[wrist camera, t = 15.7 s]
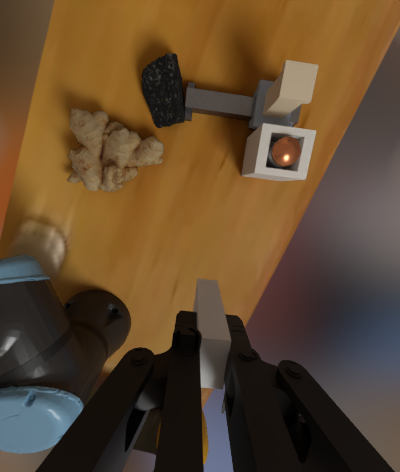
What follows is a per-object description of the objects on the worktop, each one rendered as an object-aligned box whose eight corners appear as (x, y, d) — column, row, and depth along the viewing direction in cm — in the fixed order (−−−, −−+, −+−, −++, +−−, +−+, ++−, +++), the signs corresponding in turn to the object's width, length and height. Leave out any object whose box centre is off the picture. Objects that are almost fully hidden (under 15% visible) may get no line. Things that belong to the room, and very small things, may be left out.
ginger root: (48, 165, 41) (23, 151, 33) (105, 103, 42) (93, 75, 34) (118, 219, 44) (110, 218, 36) (168, 159, 45) (172, 146, 37)
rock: (154, 132, 41) (147, 123, 36) (139, 71, 39) (129, 51, 33) (190, 123, 41) (189, 113, 35) (177, 61, 39) (174, 40, 33)
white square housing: (241, 175, 43) (254, 172, 33) (247, 135, 42) (263, 120, 32) (280, 181, 44) (305, 179, 34) (288, 141, 42) (317, 127, 32)
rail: (184, 120, 41) (184, 116, 38) (188, 84, 40) (188, 77, 37) (289, 135, 42) (295, 132, 39) (296, 100, 40) (303, 94, 38)
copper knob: (259, 167, 38) (271, 163, 32) (263, 142, 37) (276, 134, 32) (281, 170, 38) (297, 167, 33) (286, 145, 38) (303, 138, 32)
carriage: (247, 131, 41) (270, 107, 29) (254, 89, 40) (281, 45, 27) (278, 136, 41) (314, 114, 29) (286, 94, 40) (328, 53, 27)
